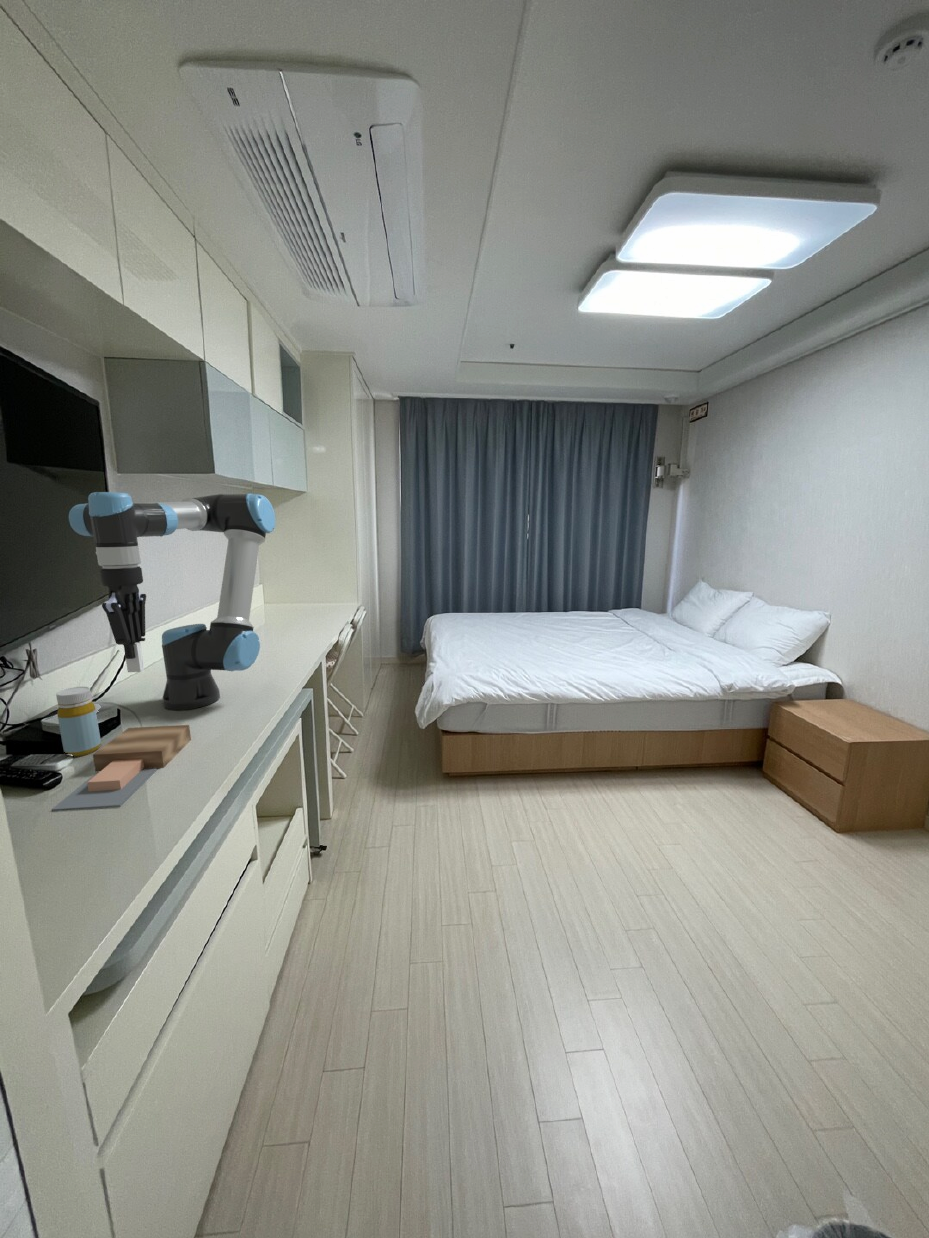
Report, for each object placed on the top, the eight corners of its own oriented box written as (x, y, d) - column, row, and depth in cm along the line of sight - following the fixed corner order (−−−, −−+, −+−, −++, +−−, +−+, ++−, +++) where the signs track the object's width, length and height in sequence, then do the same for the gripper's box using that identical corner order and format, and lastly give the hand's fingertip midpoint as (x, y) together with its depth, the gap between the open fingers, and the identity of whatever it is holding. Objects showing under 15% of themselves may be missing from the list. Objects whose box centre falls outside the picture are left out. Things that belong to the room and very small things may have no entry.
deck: (130, 742, 119) (128, 727, 119) (191, 739, 121) (189, 724, 120) (95, 771, 106) (92, 754, 105) (163, 767, 107) (161, 750, 107)
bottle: (105, 742, 120) (96, 684, 117) (96, 754, 113) (86, 693, 110) (71, 746, 117) (60, 687, 114) (59, 759, 111) (48, 697, 108)
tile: (114, 768, 106) (113, 760, 106) (144, 767, 107) (142, 758, 106) (88, 791, 97) (87, 782, 97) (121, 789, 98) (119, 780, 98)
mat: (97, 773, 105) (97, 771, 105) (156, 770, 106) (156, 768, 106) (51, 811, 91) (51, 809, 91) (120, 806, 93) (120, 804, 93)
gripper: (119, 563, 110) (134, 663, 115) (81, 569, 97) (100, 681, 102) (154, 563, 111) (167, 661, 116) (121, 569, 98) (138, 679, 103)
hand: (136, 670), depth 109 cm, fingers closed
